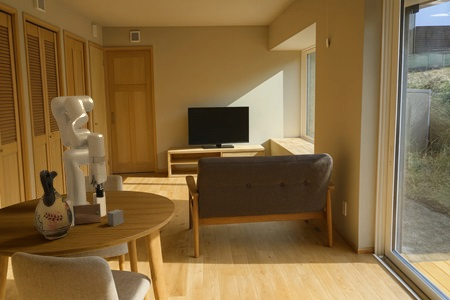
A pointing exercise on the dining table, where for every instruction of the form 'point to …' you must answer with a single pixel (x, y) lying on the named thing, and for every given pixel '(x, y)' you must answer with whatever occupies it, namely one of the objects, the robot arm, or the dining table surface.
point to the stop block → (115, 217)
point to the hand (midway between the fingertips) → (100, 197)
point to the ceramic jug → (52, 209)
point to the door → (87, 213)
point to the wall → (96, 201)
